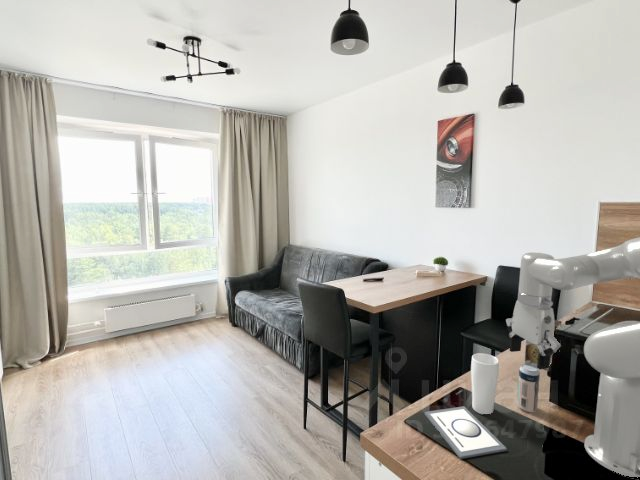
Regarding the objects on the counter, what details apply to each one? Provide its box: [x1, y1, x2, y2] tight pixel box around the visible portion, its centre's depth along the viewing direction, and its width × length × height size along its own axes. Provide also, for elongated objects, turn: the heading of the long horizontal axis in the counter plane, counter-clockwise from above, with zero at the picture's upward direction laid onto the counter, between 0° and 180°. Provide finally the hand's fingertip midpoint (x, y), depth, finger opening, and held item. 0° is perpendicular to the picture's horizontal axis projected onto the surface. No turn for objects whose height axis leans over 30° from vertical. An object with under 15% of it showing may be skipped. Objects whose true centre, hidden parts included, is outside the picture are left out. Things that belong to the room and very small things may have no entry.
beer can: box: [516, 363, 541, 413], centre depth 95 cm, size 5×5×12 cm
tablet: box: [423, 405, 508, 460], centre depth 87 cm, size 16×12×1 cm
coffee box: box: [524, 319, 562, 371], centre depth 119 cm, size 9×6×16 cm
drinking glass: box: [470, 352, 500, 415], centre depth 94 cm, size 7×7×15 cm
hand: (528, 359), depth 94 cm, fingers open, 9 cm apart
